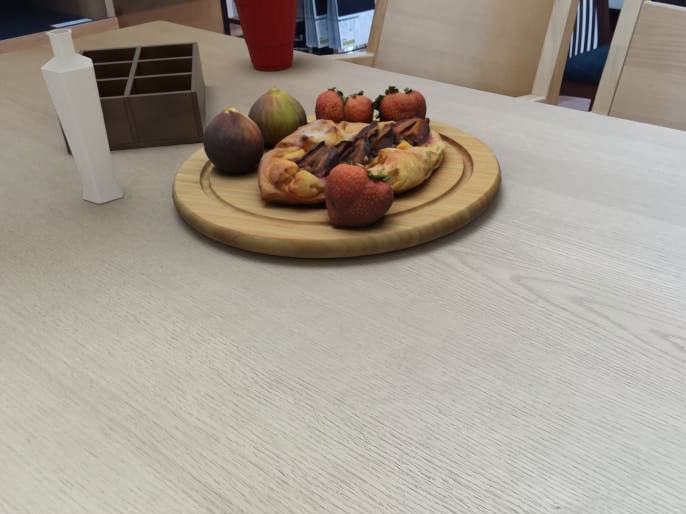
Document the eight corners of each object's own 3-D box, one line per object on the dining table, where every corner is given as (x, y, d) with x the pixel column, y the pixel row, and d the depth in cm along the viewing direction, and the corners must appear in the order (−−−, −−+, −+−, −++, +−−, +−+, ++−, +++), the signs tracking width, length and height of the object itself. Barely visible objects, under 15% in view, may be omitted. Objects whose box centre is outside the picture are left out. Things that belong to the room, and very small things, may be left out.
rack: (68, 154, 83) (53, 102, 79) (91, 94, 100) (79, 50, 97) (205, 142, 85) (196, 91, 82) (204, 85, 102) (197, 41, 99)
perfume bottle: (116, 181, 77) (75, 22, 67) (134, 195, 74) (94, 30, 65) (72, 194, 74) (23, 31, 65) (90, 208, 72) (41, 40, 62)
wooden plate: (510, 269, 61) (519, 171, 56) (127, 264, 63) (102, 169, 58) (492, 131, 86) (497, 54, 81) (219, 131, 88) (207, 56, 83)
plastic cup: (326, 64, 109) (319, -29, 102) (265, 80, 103) (254, -17, 96) (281, 51, 115) (272, -37, 108) (222, 66, 110) (208, -27, 102)
